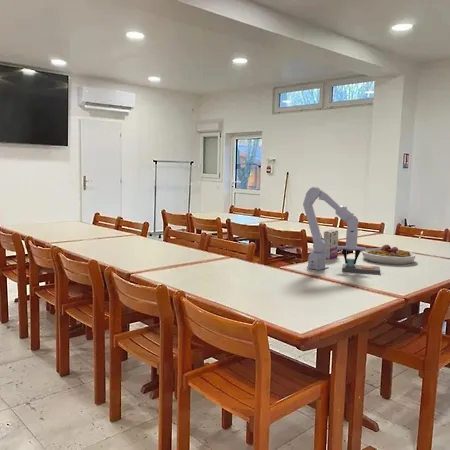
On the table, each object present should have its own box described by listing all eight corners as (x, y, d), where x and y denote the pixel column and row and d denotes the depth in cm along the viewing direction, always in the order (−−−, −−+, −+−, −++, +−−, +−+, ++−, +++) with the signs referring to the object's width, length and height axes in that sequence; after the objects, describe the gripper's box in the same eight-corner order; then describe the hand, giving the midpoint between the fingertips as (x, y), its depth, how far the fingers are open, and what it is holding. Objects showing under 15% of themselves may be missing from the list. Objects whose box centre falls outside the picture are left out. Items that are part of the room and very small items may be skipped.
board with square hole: (342, 271, 238) (342, 267, 238) (342, 267, 248) (342, 264, 247) (380, 274, 233) (380, 270, 233) (379, 270, 243) (379, 266, 242)
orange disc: (370, 269, 234) (370, 269, 234) (358, 267, 239) (358, 266, 239) (377, 267, 239) (377, 267, 239) (365, 265, 244) (365, 265, 244)
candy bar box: (330, 255, 282) (331, 229, 280) (337, 256, 279) (338, 230, 277) (322, 258, 274) (323, 231, 272) (330, 259, 270) (331, 232, 269)
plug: (351, 271, 239) (351, 260, 238) (344, 269, 242) (345, 258, 241) (355, 270, 242) (356, 259, 241) (349, 269, 245) (349, 258, 244)
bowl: (419, 267, 254) (420, 253, 253) (364, 264, 260) (365, 250, 259) (409, 257, 283) (410, 245, 282) (359, 254, 289) (360, 242, 288)
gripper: (337, 238, 238) (336, 264, 239) (366, 240, 234) (364, 266, 236) (337, 237, 245) (336, 261, 246) (365, 238, 241) (364, 263, 242)
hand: (350, 263), depth 241 cm, fingers closed on plug, 4 cm apart
